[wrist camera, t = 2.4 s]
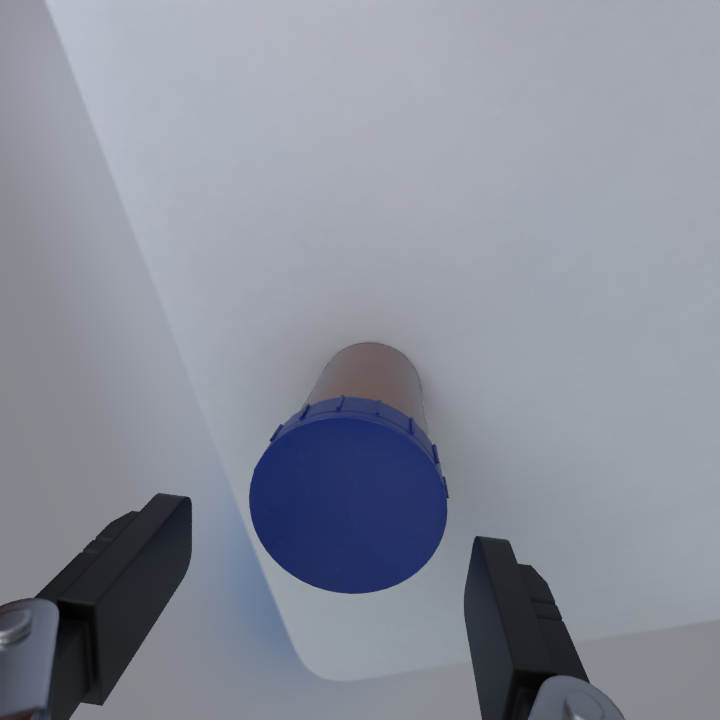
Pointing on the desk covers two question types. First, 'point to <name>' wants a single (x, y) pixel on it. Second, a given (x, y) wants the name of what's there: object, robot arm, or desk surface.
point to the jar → (372, 379)
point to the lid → (349, 496)
